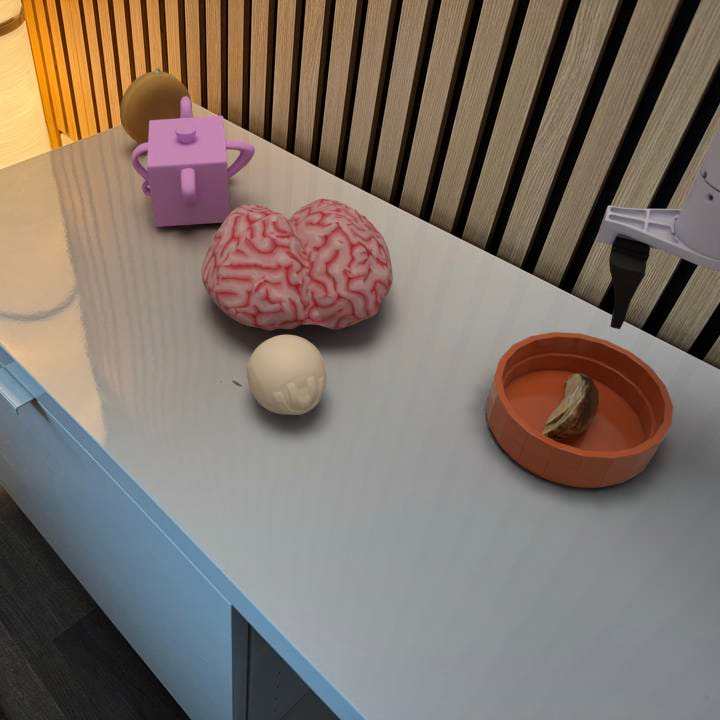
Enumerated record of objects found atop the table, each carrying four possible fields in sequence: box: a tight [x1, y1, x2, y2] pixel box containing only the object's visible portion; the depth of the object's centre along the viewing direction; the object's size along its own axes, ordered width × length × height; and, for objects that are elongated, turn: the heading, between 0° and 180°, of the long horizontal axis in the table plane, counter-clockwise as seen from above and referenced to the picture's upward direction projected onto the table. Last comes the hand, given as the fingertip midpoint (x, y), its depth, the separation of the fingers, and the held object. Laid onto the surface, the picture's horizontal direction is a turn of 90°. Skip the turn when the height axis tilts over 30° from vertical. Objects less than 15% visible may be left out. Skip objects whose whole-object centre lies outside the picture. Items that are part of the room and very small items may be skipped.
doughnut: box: [119, 67, 193, 145], centre depth 96 cm, size 9×4×10 cm, turn 122°
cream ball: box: [246, 334, 327, 416], centre depth 65 cm, size 7×7×7 cm
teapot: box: [130, 96, 256, 228], centre depth 87 cm, size 18×14×10 cm
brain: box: [201, 198, 394, 331], centre depth 74 cm, size 19×18×10 cm
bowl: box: [485, 331, 674, 489], centre depth 63 cm, size 14×14×4 cm
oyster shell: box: [542, 373, 599, 442], centre depth 63 cm, size 6×4×10 cm
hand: (669, 333), depth 58 cm, fingers open, 7 cm apart
